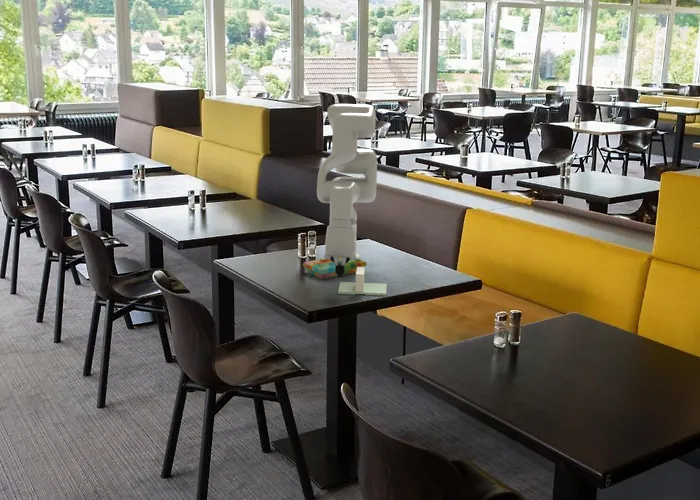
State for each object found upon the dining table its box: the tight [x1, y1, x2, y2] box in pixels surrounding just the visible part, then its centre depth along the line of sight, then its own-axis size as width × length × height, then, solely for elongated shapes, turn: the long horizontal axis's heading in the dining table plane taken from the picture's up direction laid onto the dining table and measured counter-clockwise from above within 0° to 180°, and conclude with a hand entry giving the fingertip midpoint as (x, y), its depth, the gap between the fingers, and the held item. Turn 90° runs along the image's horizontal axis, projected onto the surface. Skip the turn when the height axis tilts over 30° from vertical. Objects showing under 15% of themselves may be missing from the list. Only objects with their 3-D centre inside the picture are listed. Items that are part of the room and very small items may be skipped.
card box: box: [355, 266, 366, 292], centre depth 266 cm, size 9×3×6 cm, turn 177°
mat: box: [337, 281, 388, 297], centre depth 267 cm, size 11×16×1 cm
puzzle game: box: [302, 257, 368, 279], centre depth 287 cm, size 12×5×20 cm
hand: (339, 275), depth 266 cm, fingers closed
